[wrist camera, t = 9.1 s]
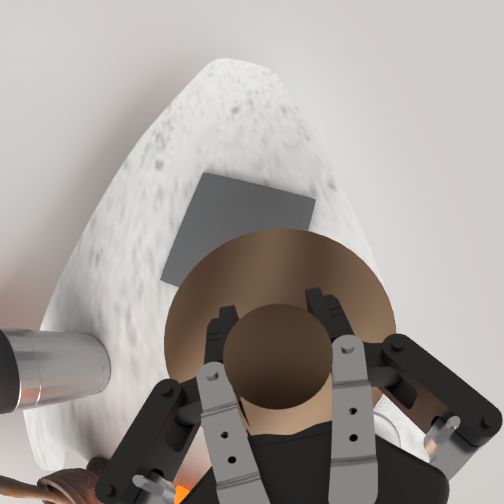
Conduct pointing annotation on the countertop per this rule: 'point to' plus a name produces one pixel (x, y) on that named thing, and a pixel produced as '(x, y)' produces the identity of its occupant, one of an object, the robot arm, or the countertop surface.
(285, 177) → the countertop surface
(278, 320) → the walnut lid
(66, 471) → the mortar and pestle
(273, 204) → the rubber mat
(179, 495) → the orange juice
